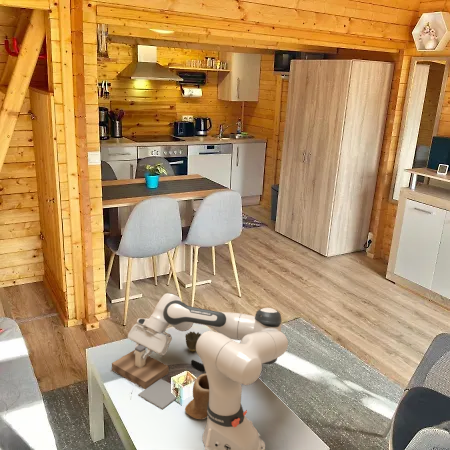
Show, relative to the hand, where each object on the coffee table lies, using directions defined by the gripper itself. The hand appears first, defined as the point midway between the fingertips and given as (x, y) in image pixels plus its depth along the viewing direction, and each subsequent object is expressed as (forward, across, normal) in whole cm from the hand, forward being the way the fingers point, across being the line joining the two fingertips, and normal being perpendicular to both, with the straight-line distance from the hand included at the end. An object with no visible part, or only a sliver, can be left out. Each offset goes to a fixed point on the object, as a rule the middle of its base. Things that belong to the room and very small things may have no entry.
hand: (139, 356), depth 194 cm
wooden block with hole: (+5, 0, -6) cm, 8 cm away
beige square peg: (+4, 0, -5) cm, 6 cm away
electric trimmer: (-8, -22, -19) cm, 30 cm away
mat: (+8, -17, -2) cm, 19 cm away
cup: (-14, -7, -25) cm, 30 cm away
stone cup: (+6, -36, -5) cm, 37 cm away
